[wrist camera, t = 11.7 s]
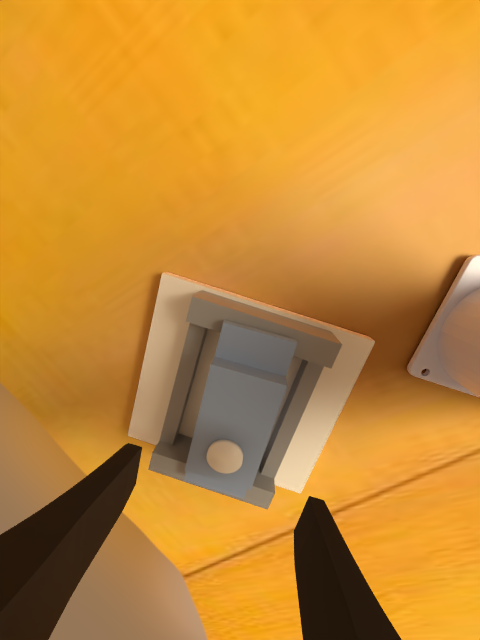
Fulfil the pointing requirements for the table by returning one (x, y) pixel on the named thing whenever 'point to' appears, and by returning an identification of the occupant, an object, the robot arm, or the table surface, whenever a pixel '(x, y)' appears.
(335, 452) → the table surface
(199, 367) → the cradle
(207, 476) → the servo
